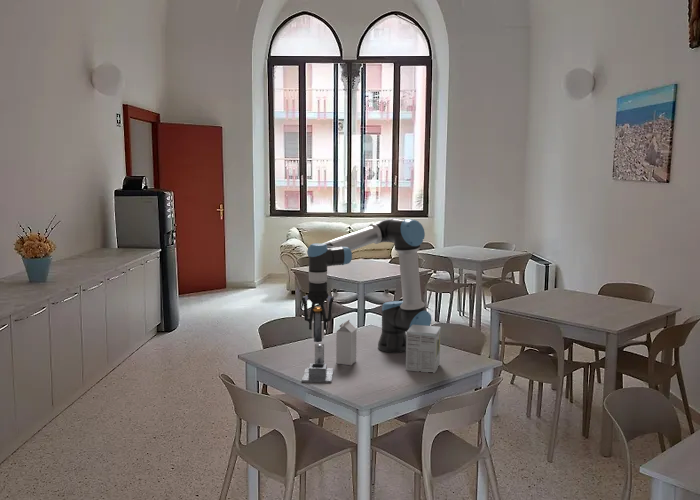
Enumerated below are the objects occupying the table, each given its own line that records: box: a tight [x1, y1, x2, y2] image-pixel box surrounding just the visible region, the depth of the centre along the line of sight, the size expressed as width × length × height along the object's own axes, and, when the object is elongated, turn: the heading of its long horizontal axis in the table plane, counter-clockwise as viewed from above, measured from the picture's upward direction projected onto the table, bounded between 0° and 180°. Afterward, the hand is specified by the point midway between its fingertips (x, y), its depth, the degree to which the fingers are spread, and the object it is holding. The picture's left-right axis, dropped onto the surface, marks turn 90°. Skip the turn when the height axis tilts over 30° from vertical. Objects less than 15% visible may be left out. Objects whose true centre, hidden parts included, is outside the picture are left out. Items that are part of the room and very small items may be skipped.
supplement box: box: [405, 325, 442, 374], centre depth 274 cm, size 13×13×18 cm
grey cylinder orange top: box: [313, 306, 323, 343], centre depth 258 cm, size 5×5×14 cm
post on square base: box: [301, 342, 334, 384], centre depth 262 cm, size 12×16×12 cm
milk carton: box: [335, 319, 357, 366], centre depth 280 cm, size 7×7×19 cm
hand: (317, 337), depth 259 cm, fingers closed on grey cylinder orange top, 3 cm apart
